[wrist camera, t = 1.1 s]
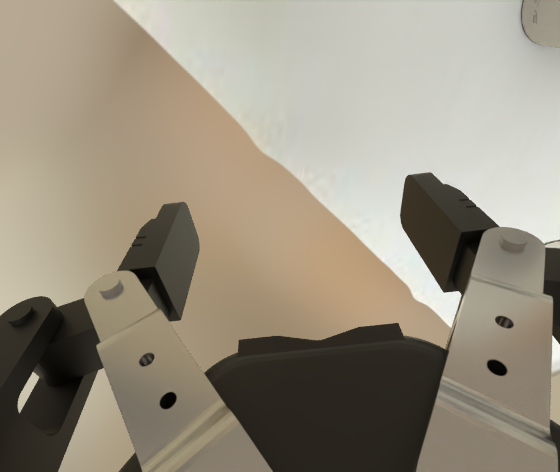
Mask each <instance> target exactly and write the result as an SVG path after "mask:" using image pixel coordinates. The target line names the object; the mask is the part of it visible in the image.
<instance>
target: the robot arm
mask: <svg viewBox="0 0 560 472" xmlns="http://www.w3.org/2000/svg"><path fill="white" fill-rule="evenodd" d="M522 23H523V27H524V31H525V32H526V34H527V36H528V37H529V38H530V39H531V40H532V41H533V42H535V43H537V44H539V45H544V46H551V47H559V48H560V0H524V3H523V8H522ZM400 218H401V224H402V227H403V229H404V231H405V232H406V234H407V236H408V237H409V239H410V240H411V242H412V243H413V245H414V247H415V248H416V250H417V251H418V253H419V254H420V256H421V258H422V259H423V261H424V262H425V264H426V265H427V267H428V269H429V270H430V272H431V273H432V275H433V276H434V278H435V280H436V281H437V283H438V284H439V286H440V288H441V289H442V291H443V292H453V291H459V292H460V293H461V295H462V296H461V299H460V302H459V305H458V308H457V311H456V315H455V318H454V321H453V325H452V328H451V331H450V334H449V338H448V341H447V344H446V348H445V349H443V348H441V347H440V346H437V345H435V344H433V343H430V342H428V341H425V340H422V339H418V338H414V337H409V336H403V333H402V332H401V329H400V326H399V324H398V323H393V324H384V325H375V326H365V327H358V328H355V329H352V330H349V331H346V332H343V333H341V334H338V335H335V336H332V337H329V338H326V339H323V340H318V341H317V340H308V339H300V338H291V337H283V336H271V337H261V338H252V339H243V340H239V346H238V353H235V354H233V355H231V356H228V357H226V358H224V359H223V360H221V361H219V362H218V363H216V364H215V365H213V366H212V367H211V368H209V369H208V370H207V371H206V372H205V373H203V371H202V370H201V368H200V367H199V365H198V364H197V362H196V361H195V359H194V358H193V356H192V355H191V353H190V352H189V350H188V349H187V347H186V346H185V344H184V343H183V342H182V340H181V339H180V337H179V336H178V334H177V333H176V331H175V330H174V328H173V327H172V325H171V324H170V322H169V321H178V320H181V317H182V314H183V310H184V306H185V303H186V299H187V295H188V291H189V288H190V284H191V280H192V276H193V273H194V269H195V265H196V261H197V258H198V254H199V239H198V235H197V232H196V229H195V226H194V223H193V220H192V217H191V215H190V211H189V208H188V206H187V204H186V203H185V202H180V203H171V204H164V205H163V206H162V208H161V209H160V211H159V213H158V215H157V217H156V219H151V220H150V221H149V222H148V223H146V224H145V225H144V226H143V227H142V228H141V229H140V231H139V233H138V235H137V236H136V239H135V240H134V242H133V243H132V247H130V249H129V251H128V252H127V254H126V256H125V258H124V259H123V261H122V263H121V265H120V266H119V268H118V270H117V271H116V272H113V273H110V274H107V275H105V276H103V277H101V278H100V279H98V280H97V281H95V282H94V283H93V284H92V285H91V286H90V287H89V288H88V289H87V291H86V293H85V296H84V298H83V299H80V300H77V301H74V302H71V303H68V304H65V305H62V306H59V307H56V305H55V304H54V303H53V302H52V301H51V299H49V298H48V297H42V296H40V297H34V298H30V299H27V300H25V301H22V302H20V303H18V304H16V305H15V306H13V307H11V308H10V309H8V310H7V311H6V312H4V313H3V314H2V315H1V316H0V472H58V470H59V467H60V465H61V462H62V460H63V457H64V455H65V452H66V450H67V447H68V445H69V442H70V440H71V437H72V435H73V432H74V430H75V427H76V425H77V422H78V420H79V417H80V415H81V412H82V410H83V407H84V405H85V402H86V400H87V397H88V395H89V392H90V390H91V387H92V385H93V382H94V380H95V377H96V374H97V372H98V370H100V369H102V368H104V369H105V372H106V375H107V377H108V380H109V382H110V385H111V388H112V391H113V393H114V396H115V399H116V401H117V404H118V406H119V409H120V412H121V415H122V417H123V420H124V422H125V425H126V428H127V430H128V433H129V436H130V439H131V441H132V444H133V447H134V449H135V453H134V454H133V456H132V457H131V458H130V459H129V460H128V461H127V463H126V464H125V465H124V466H123V467H122V468H121V470H120V471H119V472H560V426H559V425H558V424H556V423H555V422H554V421H552V420H550V397H551V361H552V335H553V336H554V338H555V339H556V340H557V341H558V342H559V344H560V248H548V247H545V246H544V244H543V243H542V241H541V240H539V239H538V238H537V237H535V236H534V235H532V234H530V233H528V232H525V231H522V230H519V229H515V228H508V227H499V226H498V225H497V224H496V223H495V222H494V221H493V220H492V219H491V218H490V217H488V216H487V215H486V214H485V213H484V212H483V211H482V210H481V209H480V208H479V207H476V205H475V204H474V203H473V202H472V201H471V200H469V198H468V197H467V196H466V195H465V194H464V193H462V192H461V191H460V190H458V189H456V188H454V187H452V186H450V185H447V184H444V185H443V184H442V183H441V182H440V181H439V180H438V179H437V178H436V177H435V176H434V175H433V174H432V173H430V172H429V173H421V174H412V175H408V176H407V177H406V179H405V184H404V191H403V198H402V205H401V213H400ZM32 372H34V373H36V374H37V375H38V376H39V377H40V378H39V380H38V382H37V383H36V385H35V387H34V389H33V390H32V392H31V394H30V396H29V398H28V400H27V401H26V403H25V405H24V407H23V409H22V410H21V412H20V414H19V412H18V408H17V404H18V398H19V395H20V393H21V391H22V390H23V388H24V386H25V384H26V383H27V381H28V379H29V377H30V376H31V374H32Z"/></svg>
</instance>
